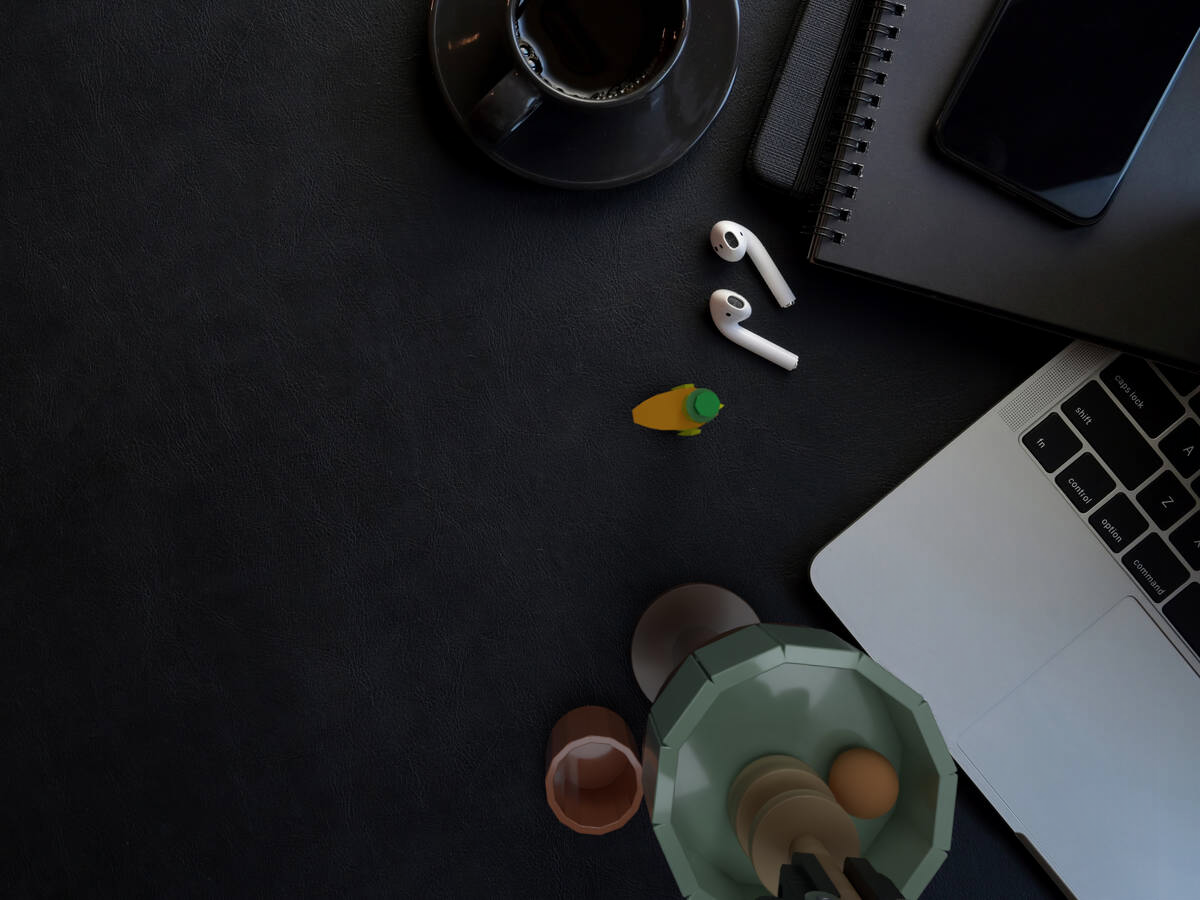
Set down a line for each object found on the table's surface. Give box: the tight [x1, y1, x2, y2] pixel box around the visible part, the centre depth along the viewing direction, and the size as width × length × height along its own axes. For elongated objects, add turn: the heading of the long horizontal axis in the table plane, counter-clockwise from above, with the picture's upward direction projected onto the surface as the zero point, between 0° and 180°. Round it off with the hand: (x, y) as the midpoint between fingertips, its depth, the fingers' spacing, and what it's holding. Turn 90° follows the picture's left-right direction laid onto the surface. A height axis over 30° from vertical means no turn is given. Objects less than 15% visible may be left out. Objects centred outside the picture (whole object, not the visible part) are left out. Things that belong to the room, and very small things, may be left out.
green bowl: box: [641, 622, 959, 900], centre depth 41 cm, size 13×13×5 cm
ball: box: [829, 748, 899, 819], centre depth 42 cm, size 3×3×3 cm
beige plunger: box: [727, 755, 862, 900], centre depth 36 cm, size 5×5×12 cm
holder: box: [544, 705, 644, 836], centre depth 64 cm, size 6×6×8 cm
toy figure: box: [632, 383, 725, 437], centre depth 63 cm, size 7×4×12 cm, turn 98°
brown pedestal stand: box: [629, 581, 815, 766], centre depth 56 cm, size 13×13×25 cm
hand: (826, 881), depth 35 cm, fingers closed on beige plunger, 1 cm apart
